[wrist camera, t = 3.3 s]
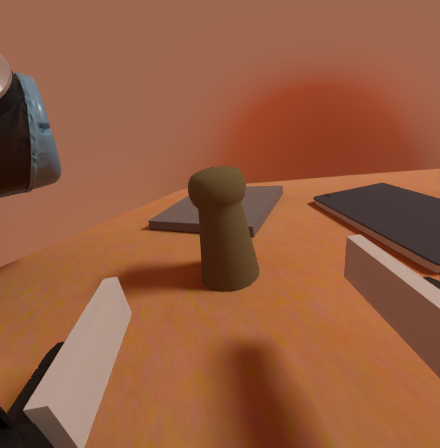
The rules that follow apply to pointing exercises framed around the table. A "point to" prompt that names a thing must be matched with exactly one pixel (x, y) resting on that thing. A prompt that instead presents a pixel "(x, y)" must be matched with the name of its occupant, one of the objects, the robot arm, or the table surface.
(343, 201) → the notebook
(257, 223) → the slate board
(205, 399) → the table surface
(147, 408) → the table surface
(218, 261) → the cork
